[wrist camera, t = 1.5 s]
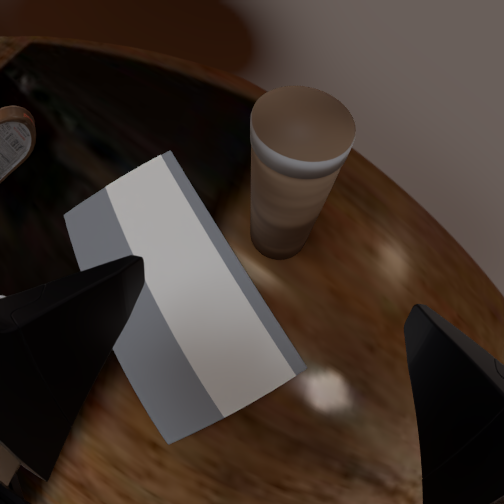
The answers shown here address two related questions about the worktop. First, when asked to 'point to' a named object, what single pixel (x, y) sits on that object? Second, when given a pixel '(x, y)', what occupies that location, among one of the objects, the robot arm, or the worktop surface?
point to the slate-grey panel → (182, 302)
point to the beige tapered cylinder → (294, 164)
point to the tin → (15, 138)
